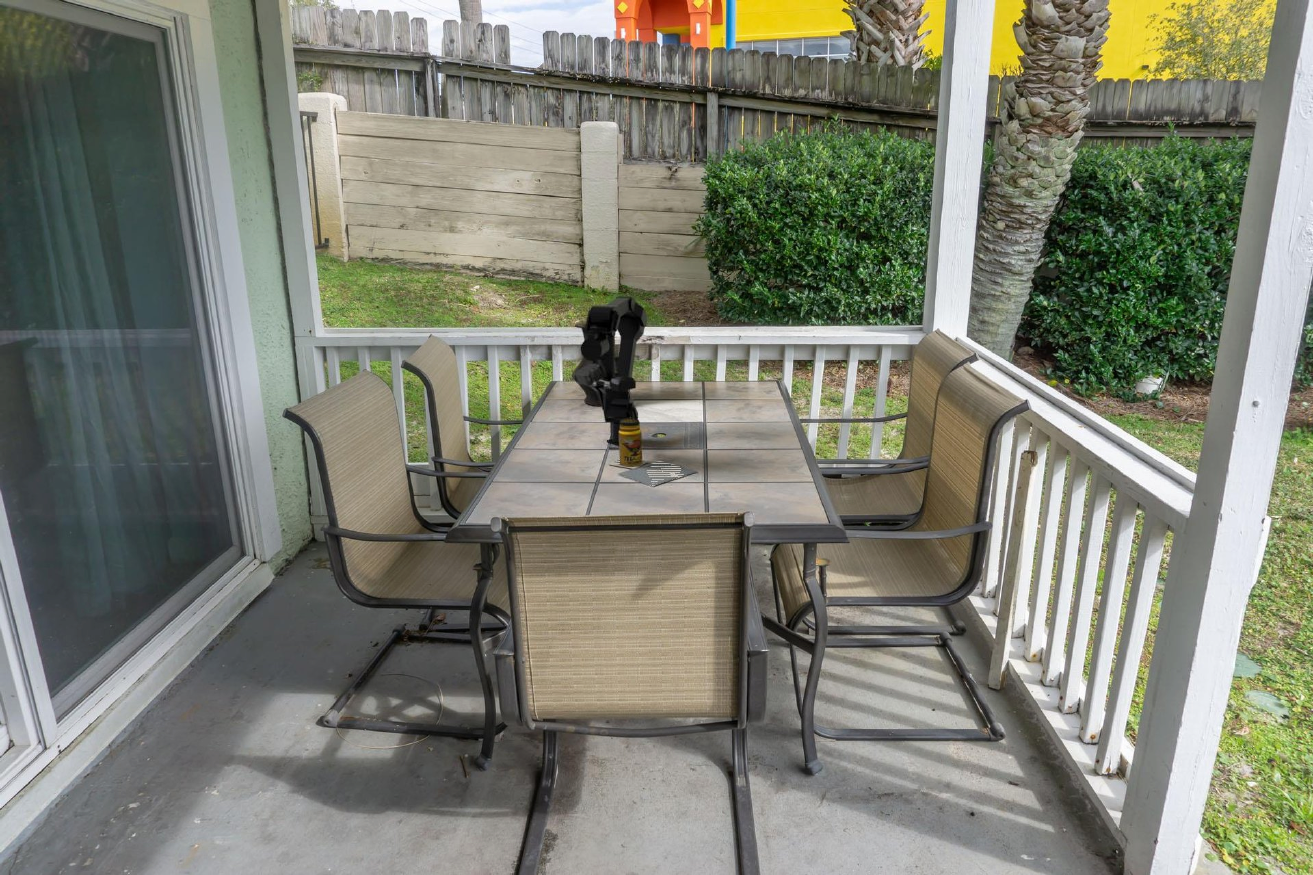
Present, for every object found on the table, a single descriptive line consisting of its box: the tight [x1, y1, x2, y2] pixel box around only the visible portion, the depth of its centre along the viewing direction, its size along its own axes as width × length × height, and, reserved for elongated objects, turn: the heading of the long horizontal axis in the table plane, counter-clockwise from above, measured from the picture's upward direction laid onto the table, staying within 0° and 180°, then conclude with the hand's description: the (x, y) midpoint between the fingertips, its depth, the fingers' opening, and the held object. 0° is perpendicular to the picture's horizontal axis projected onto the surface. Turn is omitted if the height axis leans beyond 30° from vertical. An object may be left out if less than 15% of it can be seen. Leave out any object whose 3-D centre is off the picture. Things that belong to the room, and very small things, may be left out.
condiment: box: [608, 418, 649, 469], centre depth 236 cm, size 7×8×12 cm
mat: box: [617, 459, 698, 487], centre depth 230 cm, size 13×16×1 cm
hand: (605, 410), depth 240 cm, fingers closed
